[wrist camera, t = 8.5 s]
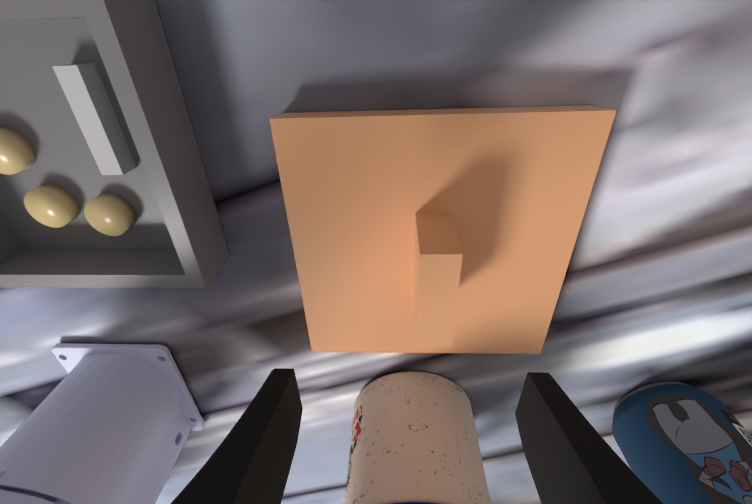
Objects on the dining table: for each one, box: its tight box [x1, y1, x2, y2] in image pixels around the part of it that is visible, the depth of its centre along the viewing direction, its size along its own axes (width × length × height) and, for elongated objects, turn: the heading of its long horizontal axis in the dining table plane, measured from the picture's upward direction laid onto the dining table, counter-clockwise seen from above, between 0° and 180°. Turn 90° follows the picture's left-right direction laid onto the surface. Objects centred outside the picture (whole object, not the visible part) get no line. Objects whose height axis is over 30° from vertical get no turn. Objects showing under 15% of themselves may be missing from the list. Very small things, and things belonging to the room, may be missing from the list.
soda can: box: [612, 381, 752, 504], centre depth 21 cm, size 7×7×12 cm
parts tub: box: [0, 0, 230, 288], centre depth 16 cm, size 12×12×3 cm
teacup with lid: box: [345, 371, 491, 504], centre depth 23 cm, size 12×9×12 cm
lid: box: [269, 105, 617, 354], centre depth 17 cm, size 14×14×5 cm
